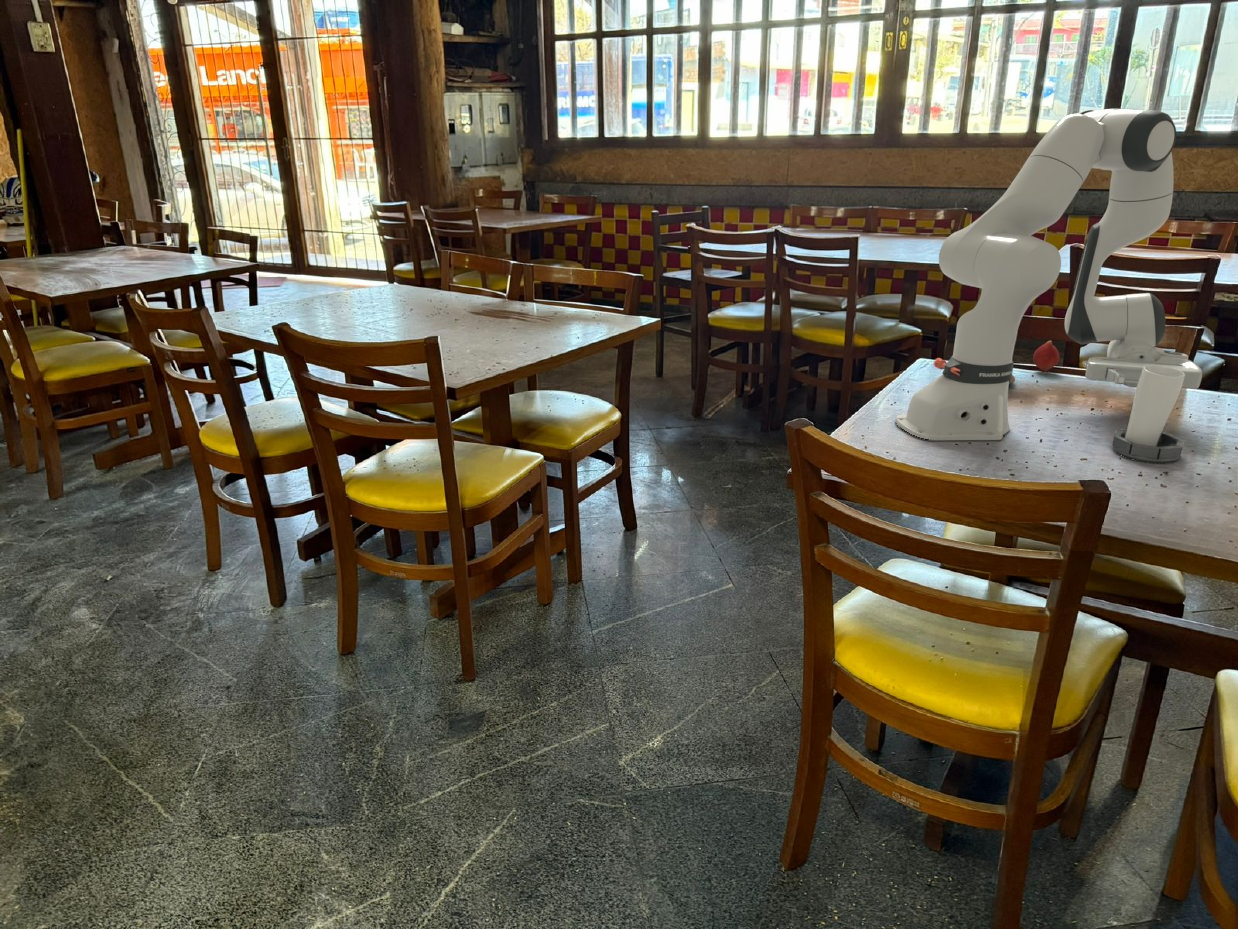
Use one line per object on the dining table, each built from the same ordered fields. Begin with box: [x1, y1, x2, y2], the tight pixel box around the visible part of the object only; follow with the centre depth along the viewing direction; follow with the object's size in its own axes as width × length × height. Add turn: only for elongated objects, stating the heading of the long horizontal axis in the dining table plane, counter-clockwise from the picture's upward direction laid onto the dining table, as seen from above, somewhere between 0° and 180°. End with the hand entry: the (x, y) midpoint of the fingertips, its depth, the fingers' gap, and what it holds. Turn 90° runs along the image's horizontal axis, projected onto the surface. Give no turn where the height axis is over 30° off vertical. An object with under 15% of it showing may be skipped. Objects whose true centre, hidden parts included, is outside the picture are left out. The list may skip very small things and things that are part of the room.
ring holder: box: [1111, 428, 1185, 465], centre depth 158 cm, size 11×11×3 cm
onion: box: [1032, 340, 1060, 372], centre depth 210 cm, size 6×6×8 cm
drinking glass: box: [1125, 365, 1185, 447], centre depth 155 cm, size 7×7×15 cm
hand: (1147, 382), depth 165 cm, fingers open, 8 cm apart
